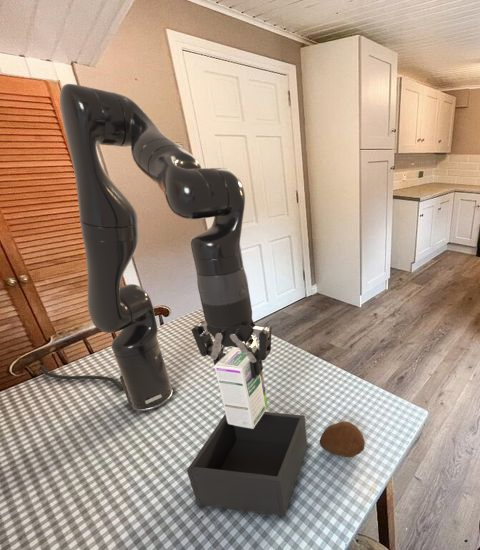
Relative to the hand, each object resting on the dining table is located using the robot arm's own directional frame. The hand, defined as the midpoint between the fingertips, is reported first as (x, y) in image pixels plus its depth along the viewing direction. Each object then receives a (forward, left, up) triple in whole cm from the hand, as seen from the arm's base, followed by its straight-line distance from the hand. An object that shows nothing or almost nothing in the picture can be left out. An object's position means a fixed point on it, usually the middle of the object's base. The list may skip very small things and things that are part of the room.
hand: (240, 373), depth 57 cm
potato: (+18, +6, -25) cm, 31 cm away
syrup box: (0, 0, -11) cm, 11 cm away
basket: (+1, -2, -25) cm, 25 cm away
